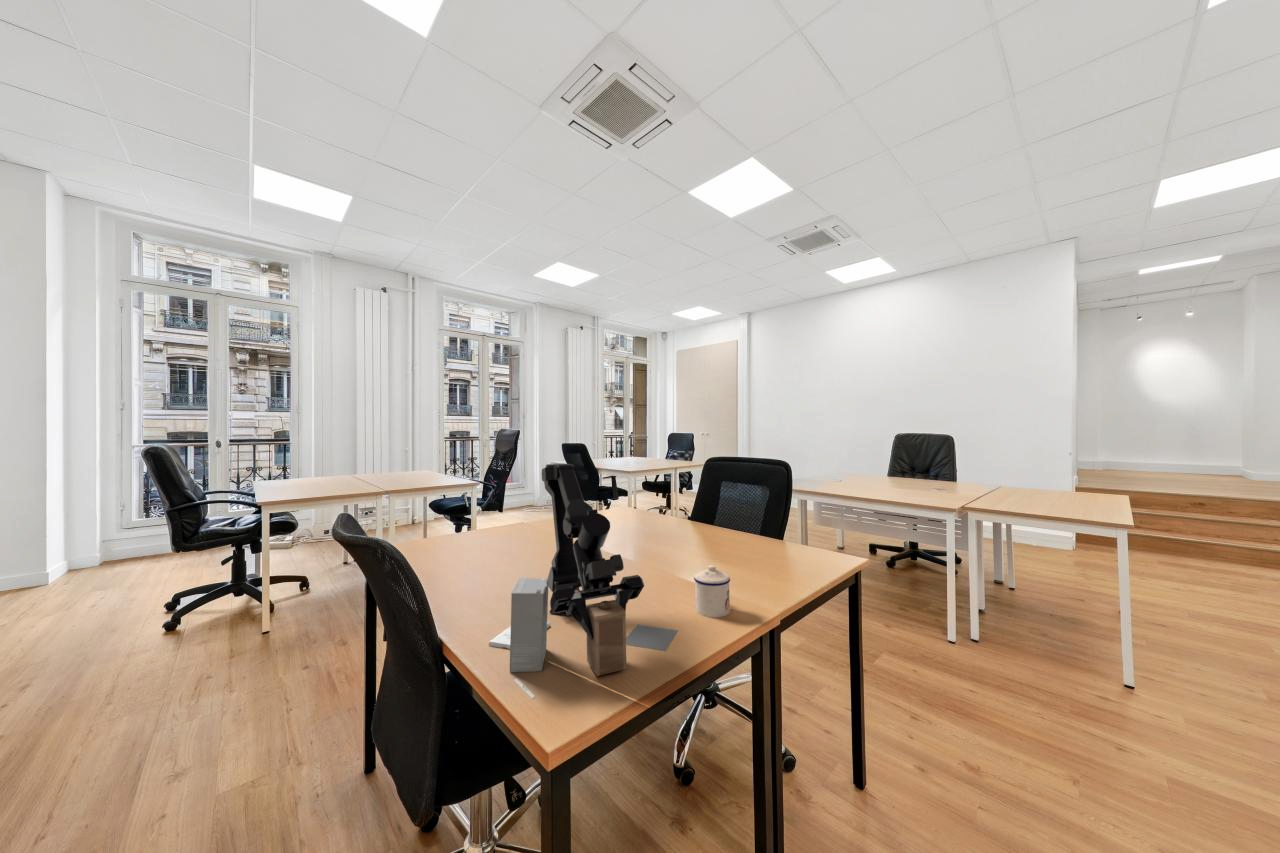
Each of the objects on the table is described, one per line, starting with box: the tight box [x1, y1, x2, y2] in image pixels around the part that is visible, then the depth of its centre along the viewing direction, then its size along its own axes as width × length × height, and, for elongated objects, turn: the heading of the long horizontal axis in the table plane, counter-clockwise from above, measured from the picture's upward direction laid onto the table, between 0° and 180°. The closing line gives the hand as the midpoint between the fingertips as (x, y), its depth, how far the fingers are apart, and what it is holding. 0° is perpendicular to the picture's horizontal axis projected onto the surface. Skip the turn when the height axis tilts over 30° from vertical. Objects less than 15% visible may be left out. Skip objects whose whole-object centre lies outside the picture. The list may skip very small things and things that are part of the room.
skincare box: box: [509, 577, 549, 673], centre depth 88 cm, size 8×7×16 cm
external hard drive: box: [488, 621, 551, 650], centre depth 100 cm, size 2×8×12 cm
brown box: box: [586, 599, 627, 677], centre depth 84 cm, size 6×6×12 cm
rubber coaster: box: [626, 623, 679, 652], centre depth 97 cm, size 10×10×1 cm
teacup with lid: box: [693, 564, 731, 619], centre depth 112 cm, size 12×9×12 cm
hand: (608, 635), depth 83 cm, fingers closed on brown box, 6 cm apart
